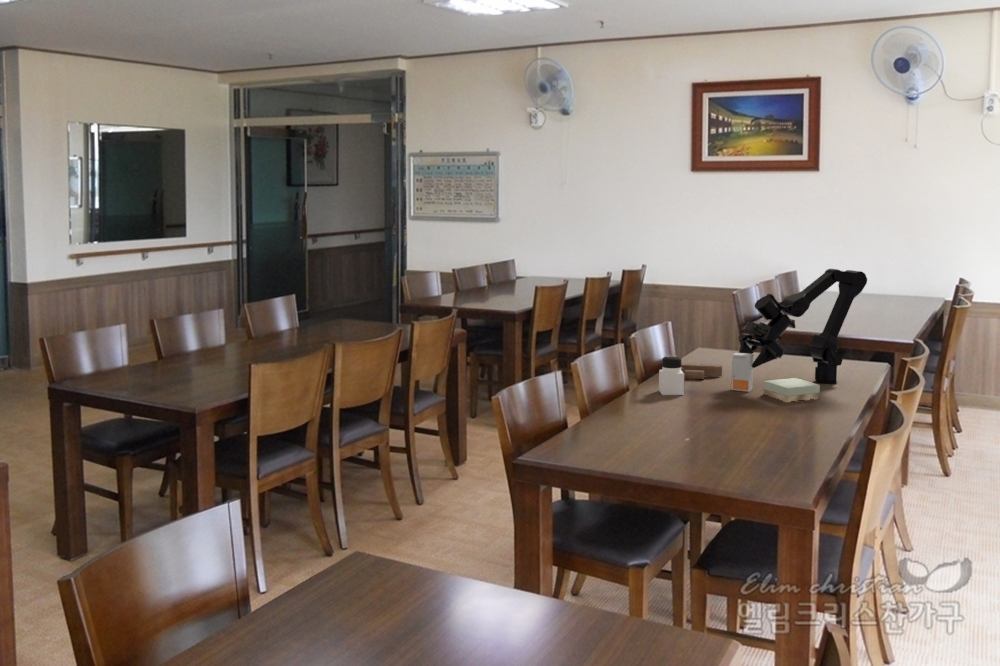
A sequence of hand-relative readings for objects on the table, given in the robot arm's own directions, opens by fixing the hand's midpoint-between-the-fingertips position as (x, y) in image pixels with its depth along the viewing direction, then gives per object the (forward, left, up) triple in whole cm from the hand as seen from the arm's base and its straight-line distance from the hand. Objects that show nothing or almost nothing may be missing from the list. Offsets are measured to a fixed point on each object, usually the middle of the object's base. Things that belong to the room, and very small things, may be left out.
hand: (744, 364), depth 307 cm
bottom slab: (-15, +6, -9) cm, 19 cm away
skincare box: (+1, 0, -9) cm, 9 cm away
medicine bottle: (+22, +10, -9) cm, 26 cm away
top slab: (-15, +6, -6) cm, 18 cm away
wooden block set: (+17, -13, -9) cm, 23 cm away
